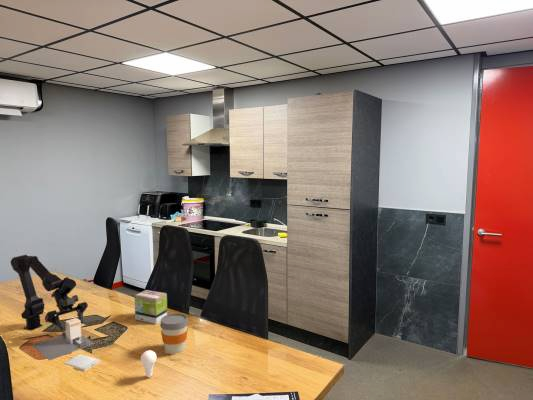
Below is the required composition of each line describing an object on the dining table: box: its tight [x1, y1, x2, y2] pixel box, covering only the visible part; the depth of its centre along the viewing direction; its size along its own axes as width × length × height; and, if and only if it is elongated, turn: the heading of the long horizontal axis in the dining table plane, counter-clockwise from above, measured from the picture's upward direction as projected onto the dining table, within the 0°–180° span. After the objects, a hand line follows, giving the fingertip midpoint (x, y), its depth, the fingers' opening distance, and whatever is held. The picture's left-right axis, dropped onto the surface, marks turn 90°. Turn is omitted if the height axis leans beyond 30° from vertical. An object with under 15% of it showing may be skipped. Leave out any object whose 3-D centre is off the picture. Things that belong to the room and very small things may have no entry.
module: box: [65, 317, 82, 344], centre depth 180 cm, size 5×5×10 cm
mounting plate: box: [31, 334, 95, 361], centre depth 177 cm, size 22×20×1 cm
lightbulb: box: [140, 350, 158, 378], centre depth 150 cm, size 6×6×11 cm
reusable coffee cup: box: [160, 313, 189, 355], centre depth 172 cm, size 12×13×15 cm
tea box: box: [134, 289, 168, 325], centre depth 207 cm, size 15×10×15 cm, turn 68°
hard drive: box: [63, 354, 101, 372], centre depth 161 cm, size 2×8×12 cm
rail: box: [61, 330, 86, 348], centre depth 181 cm, size 20×3×2 cm, turn 50°
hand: (72, 326), depth 180 cm, fingers open, 9 cm apart
